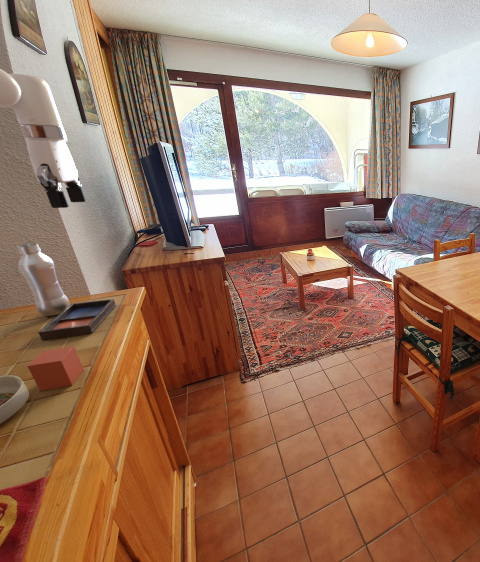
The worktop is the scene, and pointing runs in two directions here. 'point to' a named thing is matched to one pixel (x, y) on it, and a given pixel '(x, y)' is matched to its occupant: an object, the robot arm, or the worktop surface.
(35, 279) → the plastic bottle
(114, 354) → the worktop surface
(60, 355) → the red block
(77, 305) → the sorting tray
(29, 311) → the worktop surface
